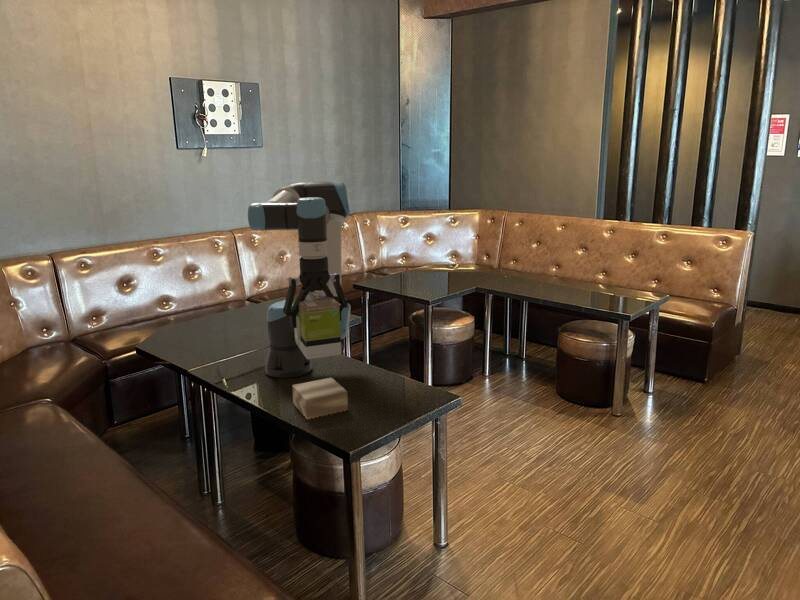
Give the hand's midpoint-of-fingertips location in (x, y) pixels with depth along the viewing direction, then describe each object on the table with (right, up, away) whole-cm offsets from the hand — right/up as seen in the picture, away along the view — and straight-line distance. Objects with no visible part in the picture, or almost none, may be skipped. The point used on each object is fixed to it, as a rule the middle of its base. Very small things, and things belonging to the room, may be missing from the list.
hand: (317, 335), depth 166 cm
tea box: (0, -4, +1) cm, 4 cm away
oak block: (0, -21, +5) cm, 22 cm away
